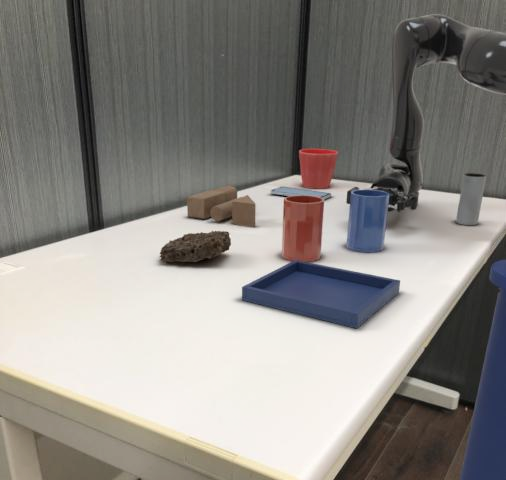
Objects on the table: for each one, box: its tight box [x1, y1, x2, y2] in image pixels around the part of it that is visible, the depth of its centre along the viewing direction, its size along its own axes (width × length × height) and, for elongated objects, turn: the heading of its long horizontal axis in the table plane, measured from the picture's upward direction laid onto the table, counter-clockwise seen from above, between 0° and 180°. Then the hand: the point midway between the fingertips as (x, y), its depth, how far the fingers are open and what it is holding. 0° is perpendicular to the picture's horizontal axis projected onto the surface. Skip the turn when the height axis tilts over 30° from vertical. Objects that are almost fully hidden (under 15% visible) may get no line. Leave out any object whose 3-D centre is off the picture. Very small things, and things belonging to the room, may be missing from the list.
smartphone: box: [270, 186, 332, 200], centre depth 150 cm, size 7×1×15 cm
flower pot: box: [298, 148, 339, 190], centre depth 161 cm, size 11×11×10 cm
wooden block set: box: [186, 185, 256, 228], centre depth 128 cm, size 17×6×18 cm
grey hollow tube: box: [455, 172, 487, 226], centre depth 123 cm, size 4×4×10 cm
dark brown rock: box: [159, 230, 232, 263], centre depth 97 cm, size 12×10×5 cm
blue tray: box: [241, 260, 401, 329], centre depth 82 cm, size 18×16×2 cm
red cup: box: [281, 195, 325, 263], centre depth 99 cm, size 7×7×10 cm
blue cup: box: [346, 189, 389, 253], centre depth 105 cm, size 7×7×10 cm
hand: (376, 204), depth 112 cm, fingers open, 8 cm apart
